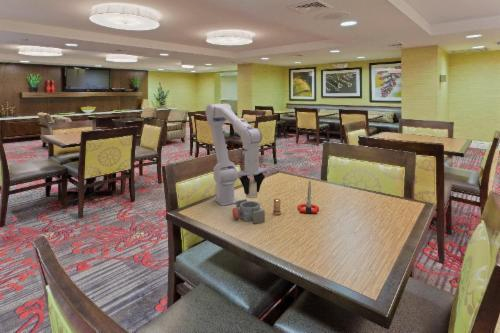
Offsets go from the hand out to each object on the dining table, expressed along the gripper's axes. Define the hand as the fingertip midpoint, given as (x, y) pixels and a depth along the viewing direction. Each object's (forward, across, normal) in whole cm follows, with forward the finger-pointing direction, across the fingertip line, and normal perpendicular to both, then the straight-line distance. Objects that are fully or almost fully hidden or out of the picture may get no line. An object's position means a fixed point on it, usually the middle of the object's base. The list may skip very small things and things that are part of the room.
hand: (251, 192), depth 130 cm
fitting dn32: (+10, +10, -4) cm, 14 cm away
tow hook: (+10, +23, -7) cm, 26 cm away
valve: (+10, -3, -1) cm, 10 cm away
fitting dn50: (+2, 0, 0) cm, 2 cm away
